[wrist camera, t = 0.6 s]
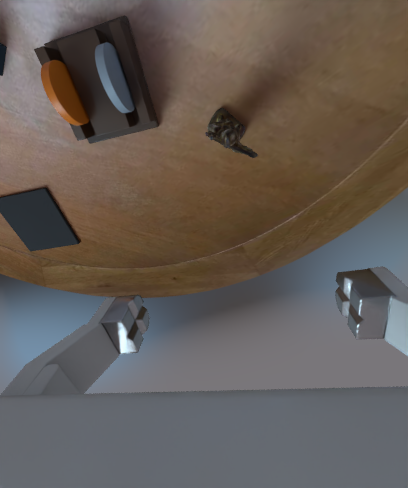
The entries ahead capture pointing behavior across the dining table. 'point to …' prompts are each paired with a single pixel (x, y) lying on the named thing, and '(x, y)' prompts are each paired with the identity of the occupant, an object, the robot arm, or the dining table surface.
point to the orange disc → (63, 92)
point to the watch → (2, 58)
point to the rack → (91, 88)
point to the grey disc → (114, 77)
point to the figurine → (228, 132)
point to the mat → (37, 220)
